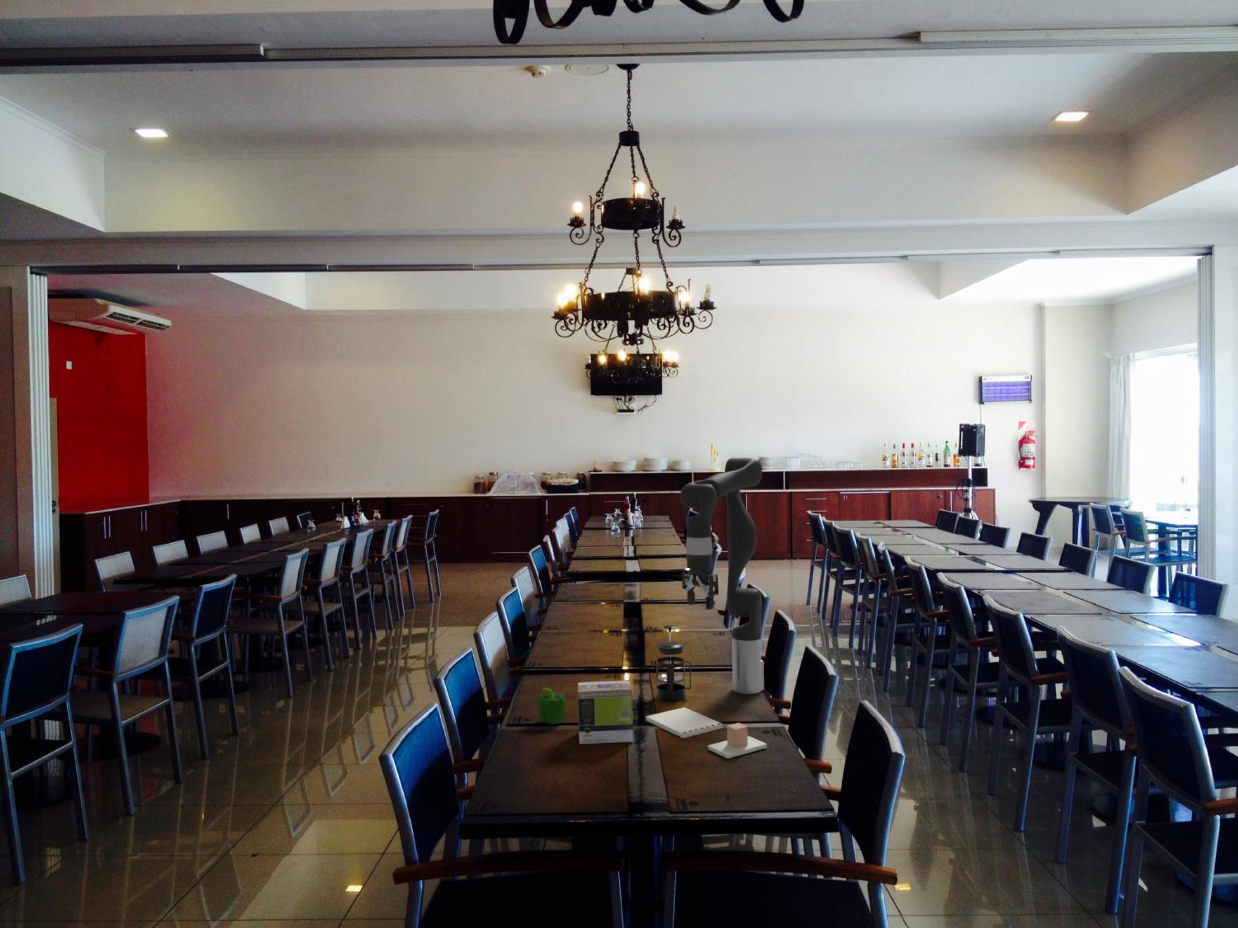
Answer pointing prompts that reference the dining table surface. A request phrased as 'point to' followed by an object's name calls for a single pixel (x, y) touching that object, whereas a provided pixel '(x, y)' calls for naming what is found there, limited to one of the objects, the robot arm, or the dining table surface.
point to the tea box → (605, 712)
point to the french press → (671, 671)
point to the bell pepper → (551, 707)
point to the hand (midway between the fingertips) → (700, 606)
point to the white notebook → (684, 722)
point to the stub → (737, 742)
